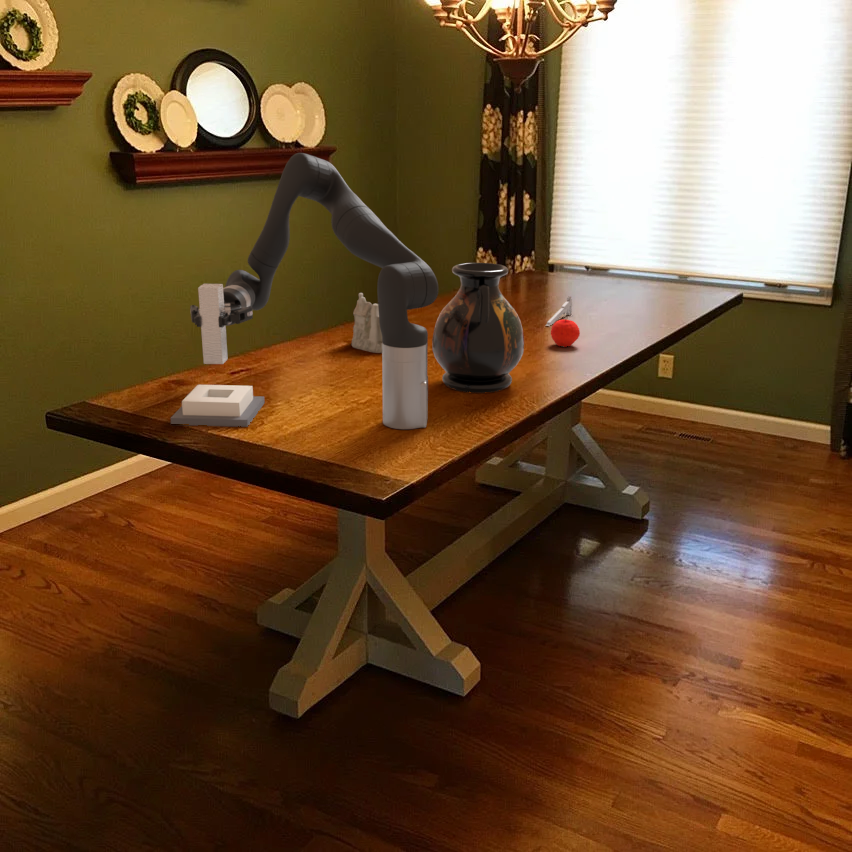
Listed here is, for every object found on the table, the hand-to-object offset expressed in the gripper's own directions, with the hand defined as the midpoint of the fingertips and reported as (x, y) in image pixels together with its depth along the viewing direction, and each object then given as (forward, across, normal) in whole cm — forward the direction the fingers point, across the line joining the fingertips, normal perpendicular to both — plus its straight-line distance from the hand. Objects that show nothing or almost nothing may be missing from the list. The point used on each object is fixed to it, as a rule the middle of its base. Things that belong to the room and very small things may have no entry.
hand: (209, 322), depth 191 cm
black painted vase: (-29, +55, +21) cm, 65 cm away
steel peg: (-3, 0, +9) cm, 9 cm away
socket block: (-3, 0, +20) cm, 21 cm away
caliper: (-99, +80, +22) cm, 129 cm away
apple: (-68, +79, +21) cm, 106 cm away
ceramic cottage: (-65, +28, +21) cm, 74 cm away
